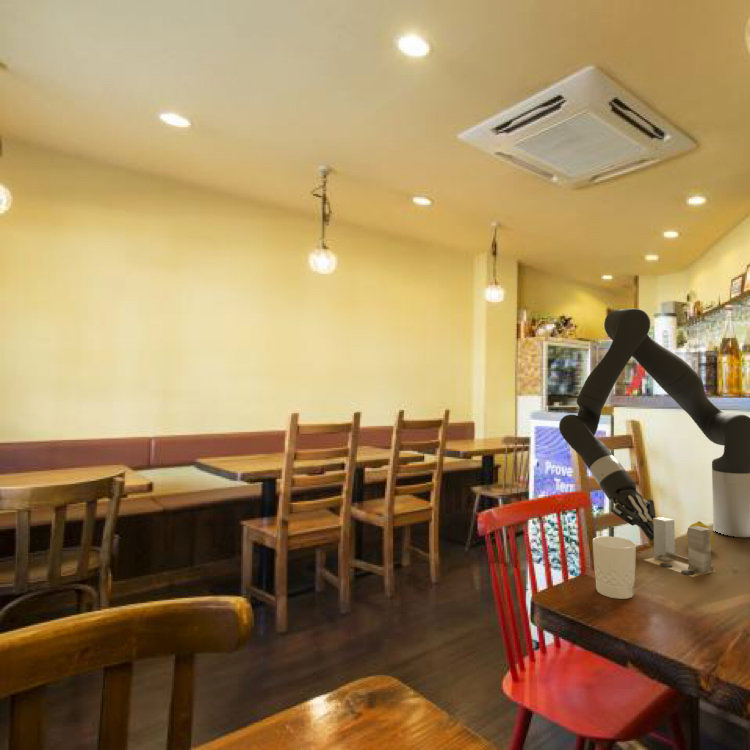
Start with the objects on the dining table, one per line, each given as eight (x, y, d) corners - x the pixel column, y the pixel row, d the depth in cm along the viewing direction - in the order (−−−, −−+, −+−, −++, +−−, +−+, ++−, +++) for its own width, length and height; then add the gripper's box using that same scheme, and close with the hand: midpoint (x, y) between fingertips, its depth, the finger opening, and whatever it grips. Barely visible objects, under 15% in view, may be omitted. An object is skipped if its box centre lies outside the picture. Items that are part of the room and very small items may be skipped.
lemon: (712, 559, 121) (712, 525, 122) (685, 555, 125) (684, 522, 125) (714, 553, 126) (713, 520, 126) (688, 549, 129) (687, 517, 129)
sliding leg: (663, 555, 121) (662, 516, 121) (675, 559, 118) (674, 519, 118) (648, 558, 119) (648, 519, 119) (660, 562, 116) (659, 522, 116)
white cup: (599, 581, 108) (599, 533, 108) (641, 591, 103) (640, 540, 103) (588, 593, 102) (587, 542, 102) (631, 604, 97) (630, 550, 97)
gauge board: (665, 560, 121) (664, 516, 121) (715, 576, 110) (714, 528, 111) (642, 565, 118) (641, 520, 118) (691, 582, 107) (690, 533, 108)
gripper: (601, 470, 127) (646, 533, 116) (639, 466, 132) (685, 526, 121) (584, 488, 132) (626, 550, 120) (622, 484, 137) (665, 543, 126)
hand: (656, 538), depth 121 cm, fingers closed
